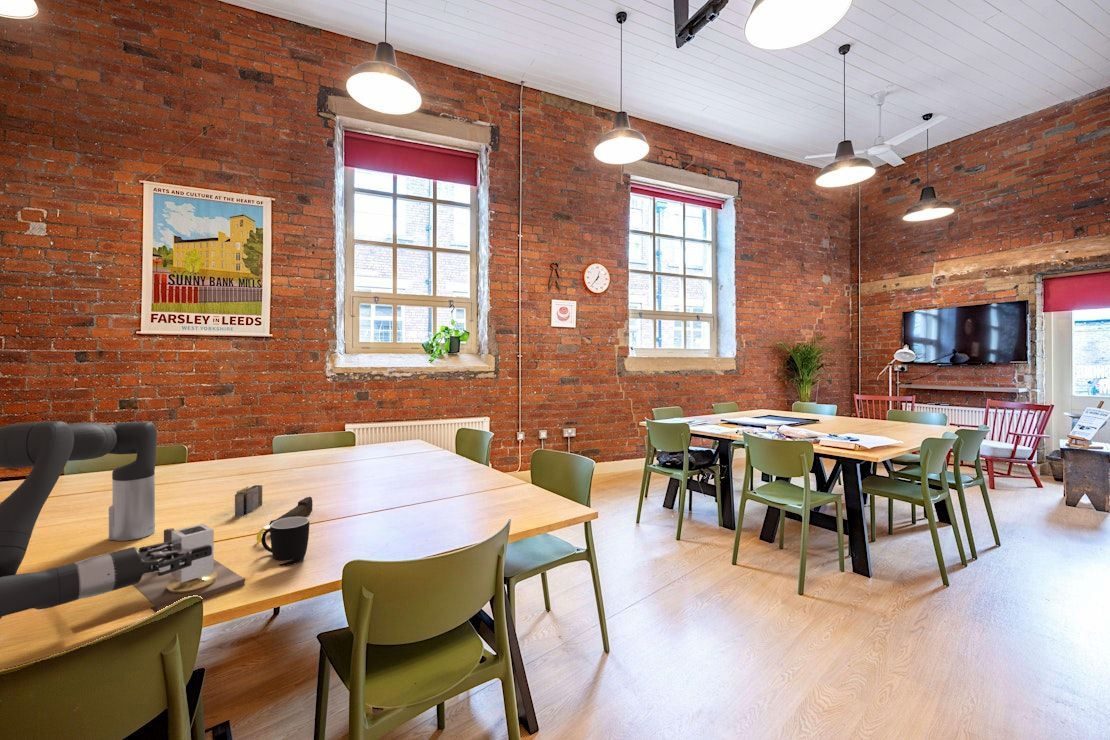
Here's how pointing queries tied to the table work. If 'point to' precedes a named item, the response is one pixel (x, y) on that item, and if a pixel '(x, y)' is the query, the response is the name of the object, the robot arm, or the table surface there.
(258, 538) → the watch
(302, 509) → the hand tool
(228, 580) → the walnut stand board
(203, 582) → the disc
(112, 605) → the table surface
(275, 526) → the mug
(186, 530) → the open-top grey box
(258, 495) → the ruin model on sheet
